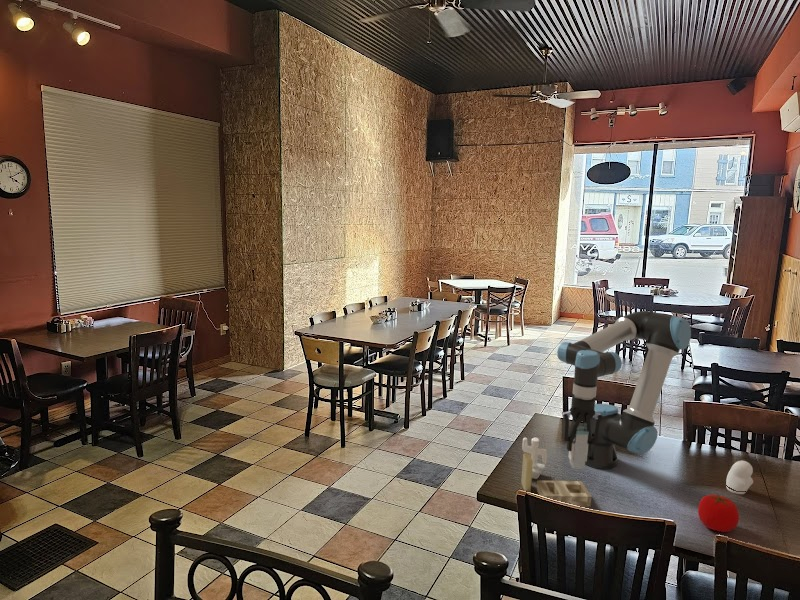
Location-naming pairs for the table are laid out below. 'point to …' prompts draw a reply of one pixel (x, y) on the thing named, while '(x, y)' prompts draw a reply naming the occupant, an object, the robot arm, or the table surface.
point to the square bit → (580, 448)
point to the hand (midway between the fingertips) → (577, 459)
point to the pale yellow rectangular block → (526, 472)
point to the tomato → (718, 513)
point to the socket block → (565, 492)
